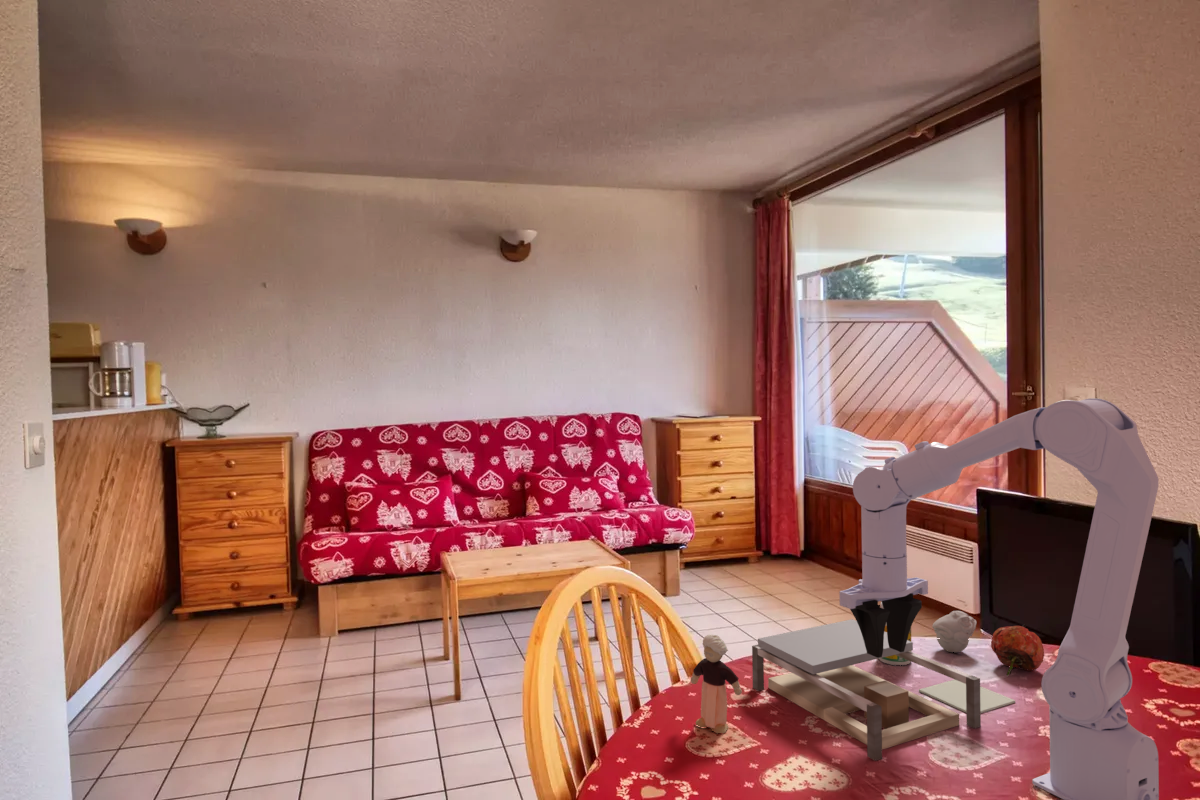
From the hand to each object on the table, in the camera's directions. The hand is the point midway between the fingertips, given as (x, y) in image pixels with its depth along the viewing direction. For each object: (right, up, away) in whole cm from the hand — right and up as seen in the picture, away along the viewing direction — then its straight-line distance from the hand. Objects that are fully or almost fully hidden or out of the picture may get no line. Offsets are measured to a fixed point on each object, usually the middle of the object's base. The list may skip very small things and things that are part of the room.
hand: (885, 652), depth 98 cm
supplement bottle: (+10, -9, +21) cm, 25 cm away
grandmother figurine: (-24, -10, -1) cm, 26 cm away
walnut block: (0, -10, 0) cm, 10 cm away
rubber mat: (+15, -9, +7) cm, 19 cm away
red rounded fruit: (+28, -9, +16) cm, 34 cm away
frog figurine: (+22, -9, +25) cm, 34 cm away
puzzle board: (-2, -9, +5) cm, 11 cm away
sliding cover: (-4, -3, +9) cm, 10 cm away
